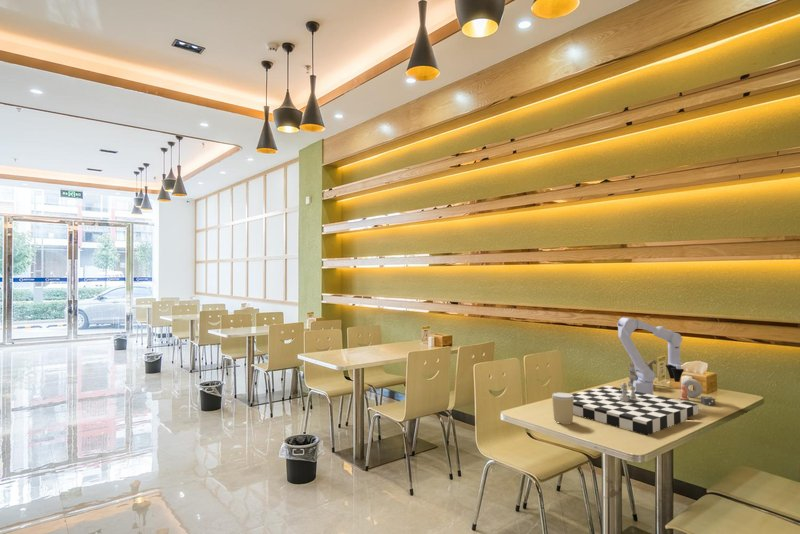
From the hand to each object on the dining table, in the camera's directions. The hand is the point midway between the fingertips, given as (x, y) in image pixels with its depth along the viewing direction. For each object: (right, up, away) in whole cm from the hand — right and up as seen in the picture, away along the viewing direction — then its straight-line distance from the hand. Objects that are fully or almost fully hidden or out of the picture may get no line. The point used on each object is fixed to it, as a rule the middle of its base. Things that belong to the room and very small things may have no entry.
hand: (674, 380), depth 242 cm
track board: (-2, -9, -15) cm, 18 cm away
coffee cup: (-74, -9, -39) cm, 84 cm away
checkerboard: (-40, -10, -26) cm, 48 cm away
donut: (+9, -10, 0) cm, 13 cm away
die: (+6, -9, -17) cm, 20 cm away
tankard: (-2, -10, +27) cm, 29 cm away
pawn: (0, -8, -8) cm, 11 cm away
